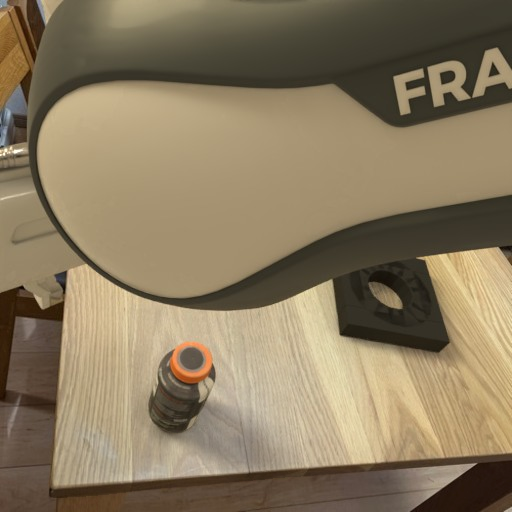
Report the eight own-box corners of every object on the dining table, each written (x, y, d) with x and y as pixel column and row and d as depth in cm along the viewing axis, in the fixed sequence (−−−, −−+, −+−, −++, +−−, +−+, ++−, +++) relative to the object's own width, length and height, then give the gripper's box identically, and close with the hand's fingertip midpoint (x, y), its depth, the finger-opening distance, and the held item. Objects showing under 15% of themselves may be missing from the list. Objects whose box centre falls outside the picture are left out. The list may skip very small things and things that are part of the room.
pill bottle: (209, 418, 56) (234, 371, 48) (162, 443, 53) (181, 397, 45) (184, 375, 59) (203, 324, 51) (138, 396, 55) (151, 345, 47)
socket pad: (439, 352, 73) (450, 342, 71) (339, 335, 70) (348, 323, 67) (416, 271, 84) (425, 259, 82) (329, 252, 80) (336, 240, 78)
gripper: (-62, 209, 21) (-22, 368, 31) (283, 131, 33) (233, 263, 43) (-106, 123, 23) (-56, 295, 33) (229, 79, 35) (193, 216, 45)
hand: (108, 277), depth 38 cm, fingers open, 8 cm apart
